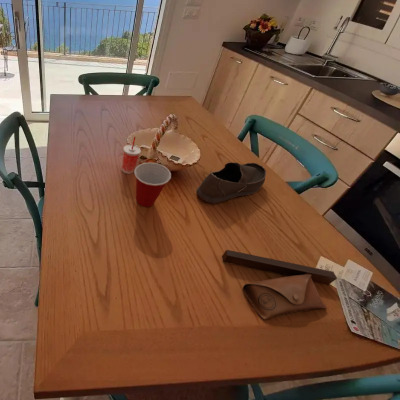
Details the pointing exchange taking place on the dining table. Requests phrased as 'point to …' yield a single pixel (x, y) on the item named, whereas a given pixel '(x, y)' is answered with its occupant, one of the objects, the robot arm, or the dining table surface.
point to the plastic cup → (150, 182)
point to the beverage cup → (130, 158)
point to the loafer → (232, 182)
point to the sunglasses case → (283, 295)
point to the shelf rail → (277, 266)
